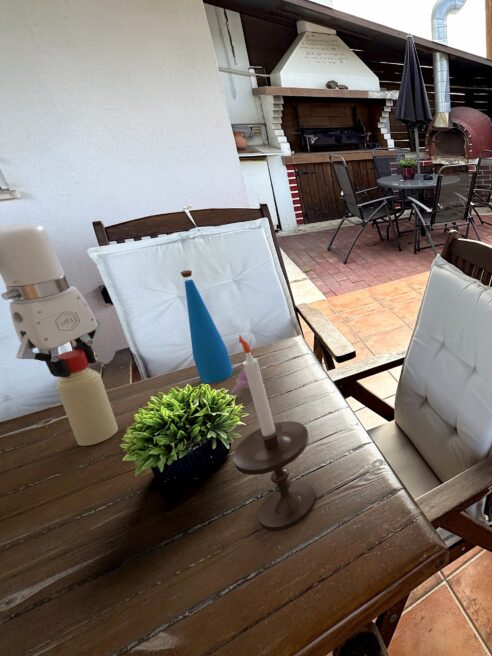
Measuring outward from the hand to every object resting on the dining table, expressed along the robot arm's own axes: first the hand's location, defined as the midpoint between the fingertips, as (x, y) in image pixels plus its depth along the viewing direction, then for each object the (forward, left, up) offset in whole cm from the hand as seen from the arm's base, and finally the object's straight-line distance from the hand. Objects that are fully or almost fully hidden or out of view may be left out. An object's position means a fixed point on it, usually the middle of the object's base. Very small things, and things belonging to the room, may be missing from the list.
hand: (75, 368), depth 83 cm
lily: (+27, +4, -17) cm, 32 cm away
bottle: (+17, +17, -17) cm, 30 cm away
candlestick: (+41, -35, -17) cm, 57 cm away
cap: (0, 0, 0) cm, 0 cm away
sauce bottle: (-1, 0, -17) cm, 17 cm away
